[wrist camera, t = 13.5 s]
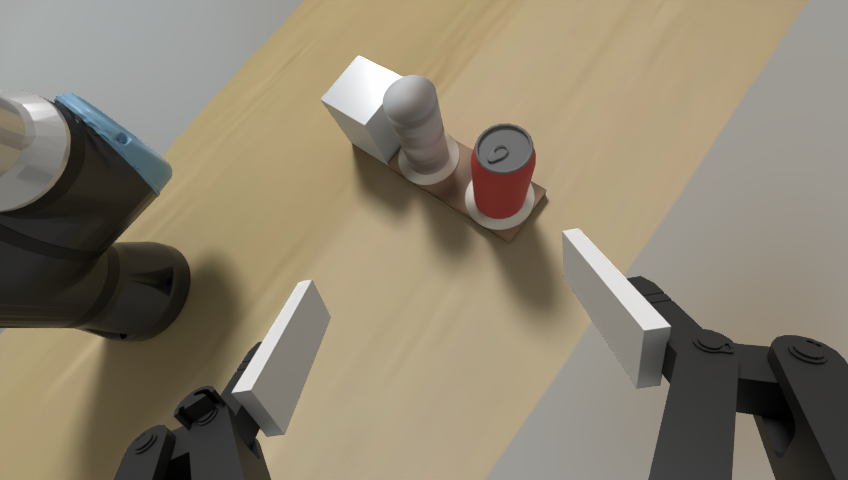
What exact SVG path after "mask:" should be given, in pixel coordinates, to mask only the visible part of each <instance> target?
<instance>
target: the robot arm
mask: <svg viewBox="0 0 848 480" xmlns="http://www.w3.org/2000/svg"><path fill="white" fill-rule="evenodd" d="M54 101H55V103H53V102H51V101H49V100H47V99H45V98H42V97H40V96H38V95H35V94H33V93H31V92H27V91H22V90H12V89H10V90H0V328H75V329H79V330H82V331H85V332H88V333H92V334H95V335H98V336H101V337H104V338H108V339H111V340H115V341H141V340H146V339H149V338H151V337H153V336H155V335H157V334H159V333H160V332H162V331H163V330H164V329H165V328H167V327H168V326H169V325H170V324H171V322H172V321H173V320H174V319H175V318H176V316H177V315H178V313H179V312H180V310H181V308H182V306H183V304H184V302H185V300H186V297H187V293H188V289H189V282H190V274H189V268H188V264H187V262H186V259H185V258H184V256H183V255H182V254H181V253H180V252H179V251H178V250H177V249H175V248H173V247H171V246H167V245H164V244H160V243H156V242H119V243H114V242H115V241H116V240H117V239H118V237H119V236H120V235H121V234H122V233H123V232H124V231H125V230H126V229H127V228H128V227H129V226H130V225H131V224H132V223H133V222H134V221H135V220H136V219H137V217H138V216H139V215H140V214H141V213H142V212H143V211H144V210H145V209H146V208H147V207H148V206H149V205H150V204H151V203H152V202H153V201H154V200H155V198H156V197H158V196H159V195H160V191H161V190H162V189H163V188H164V186H165V185H166V184H167V182H168V181H169V180H170V179H171V177H172V169H171V166H170V165H169V163H168V162H167V161H166V160H165V159H164V158H162V157H161V156H160V155H159V154H157V153H156V152H155V151H154V150H153V149H151V148H150V147H149V146H147V145H146V144H145V143H144V142H142V141H141V140H140V139H138V138H137V137H136V136H134V135H133V134H132V133H130V132H129V131H127V130H126V129H125V128H124V127H122V126H121V125H119V124H118V123H117V122H115V121H114V120H113V119H111V118H110V117H108V116H107V115H106V114H104V113H103V112H101V111H100V110H99V109H97V108H96V107H94V106H93V105H91V104H90V103H88V102H87V101H85V100H84V99H82V98H80V97H79V96H76V95H74V94H72V93H65V94H63V95H62V96H57V97H56V98H55V99H54ZM562 243H563V277H564V278H565V280H566V281H567V283H568V284H569V286H570V287H571V289H572V290H573V292H574V293H575V295H576V297H577V298H578V300H579V301H580V303H581V304H582V306H583V307H584V309H585V310H586V312H587V313H588V315H589V316H590V318H591V320H592V321H593V323H594V324H595V326H596V327H597V329H598V330H599V332H600V333H601V335H602V336H603V338H604V340H605V341H606V343H607V344H608V346H609V347H610V349H611V350H612V352H613V353H614V355H615V356H616V358H617V359H618V361H619V363H620V364H621V366H622V367H623V368H624V370H625V371H626V373H627V375H628V376H629V378H630V379H631V381H632V383H633V384H634V386H635V387H636V388H644V387H652V386H660V384H661V378H662V374H663V375H664V377H665V378H666V379H667V381H668V382H669V383H670V388H669V392H668V396H667V401H666V405H665V409H664V414H663V418H662V422H661V427H660V431H659V436H658V440H657V444H656V449H655V453H654V457H653V462H652V466H651V471H650V475H649V479H648V480H732V466H733V450H734V432H735V416H736V412H739V413H746V414H753V416H754V419H755V422H756V425H757V427H758V431H759V433H760V436H761V439H762V442H763V445H764V448H765V450H766V453H767V456H768V459H769V462H770V465H771V468H772V470H773V473H774V476H775V479H776V480H848V364H847V362H846V361H845V359H844V358H843V357H842V356H841V355H840V354H839V353H838V352H837V351H835V350H834V349H832V348H830V347H829V346H827V345H825V344H823V343H821V342H818V341H815V340H813V339H810V338H806V337H801V336H795V335H784V336H780V337H777V338H776V339H775V340H774V341H773V342H772V344H771V346H770V347H766V346H755V345H744V344H737V343H733V341H732V340H730V339H729V338H727V337H726V336H724V335H722V334H720V333H717V332H714V331H711V330H706V329H702V328H701V327H700V326H699V325H698V324H697V323H696V322H695V321H694V320H693V319H692V318H691V317H689V316H688V315H687V314H686V313H685V312H684V311H683V310H682V309H681V308H680V307H679V306H678V305H677V304H676V303H675V302H674V301H672V300H671V298H669V297H668V296H667V295H666V294H664V292H663V291H662V290H661V289H660V288H659V287H658V286H657V285H656V284H655V283H653V282H651V281H649V280H647V279H645V278H643V277H641V276H638V277H633V278H627V279H626V278H625V277H624V276H623V275H622V274H621V273H620V272H619V271H618V270H617V268H616V267H615V266H614V265H613V264H612V263H611V262H610V261H609V260H608V259H607V258H606V257H605V256H604V255H603V254H602V253H601V252H600V250H599V249H598V248H597V247H596V246H595V245H594V244H593V243H592V242H591V241H590V240H589V239H588V238H587V237H586V236H585V235H584V234H583V232H582V231H581V230H580V229H579V228H576V229H571V230H566V231H562ZM330 318H331V317H330V315H329V313H328V311H327V308H326V306H325V304H324V302H323V300H322V298H321V296H320V294H319V292H318V290H317V288H316V286H315V284H314V282H313V280H306V281H301V282H299V283H298V284H297V286H296V288H295V289H294V291H293V293H292V294H291V296H290V298H289V299H288V301H287V302H286V304H285V306H284V307H283V309H282V311H281V312H280V314H279V316H278V317H277V319H276V320H275V322H274V324H273V325H272V327H271V329H270V330H269V332H268V334H267V335H266V337H265V339H264V340H263V341H262V342H258V343H257V344H256V345H255V346H254V347H253V348H252V349H251V350H250V351H249V352H248V353H247V355H246V357H245V358H244V360H243V361H242V364H240V366H239V368H238V369H237V372H235V374H234V375H233V377H232V378H231V380H230V382H229V383H228V385H227V386H226V388H225V389H224V391H223V393H222V394H221V396H220V395H219V394H218V393H217V392H216V390H215V389H214V388H213V387H211V386H205V387H201V388H199V389H197V390H195V391H193V392H192V393H191V394H189V395H188V396H187V397H186V398H185V399H184V400H183V401H182V402H181V403H180V404H179V405H178V407H177V408H176V410H175V413H174V417H175V418H176V419H177V420H178V421H179V422H180V423H181V424H182V425H183V427H180V428H178V429H176V430H173V431H170V430H169V429H168V428H167V427H166V426H165V425H158V426H155V427H152V428H150V429H149V430H147V431H145V432H144V433H142V434H141V435H140V436H139V437H138V438H136V439H135V441H134V442H133V443H132V444H131V445H130V446H129V448H128V449H127V451H126V453H125V454H124V457H123V459H122V462H121V464H120V466H119V469H118V471H117V474H116V476H115V479H114V480H271V478H270V475H269V472H268V469H267V465H266V462H265V459H264V456H263V453H262V449H261V446H260V443H259V442H258V440H257V439H256V435H257V433H258V431H259V429H261V430H262V431H263V433H264V434H265V435H266V436H267V437H269V436H277V435H285V433H286V430H287V427H288V425H289V422H290V420H291V417H292V415H293V412H294V410H295V407H296V405H297V402H298V400H299V397H300V394H301V392H302V389H303V387H304V384H305V382H306V379H307V377H308V374H309V372H310V369H311V367H312V364H313V361H314V359H315V356H316V354H317V351H318V349H319V346H320V344H321V341H322V339H323V336H324V334H325V331H326V328H327V326H328V323H329V321H330Z"/></svg>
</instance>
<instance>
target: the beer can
mask: <svg viewBox="0 0 848 480" xmlns="http://www.w3.org/2000/svg"><path fill="white" fill-rule="evenodd" d="M535 163H536V154H535V150H534V147H533V141H532V139H531V136H530V135H529V134H528V133H527V132H526V130H524V129H523V128H521V127H519V126H517V125H513V124H498V125H495V126H491V127H490V128H488V129H487V130H485V131H484V132H483V133H482V134H481V135H480V136H479V137H478V140H477V142H476V144H475V147H474V150H473V152H472V155H471V173H472V183H473V194H474V200H475V204H476V206H477V208H478V209H479V211H480V212H481V213H483V214H484V215H485V216H487V217H490V218H493V219H505V218H509V217H511V216H513V215H515V214H516V213H518V211H519V210H520V209H521V208H522V207H523V204H524V202H525V199H526V195H527V192H528V188H529V185H530V181H531V178H532V174H533V171H534V168H535Z"/></svg>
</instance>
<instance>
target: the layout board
mask: <svg viewBox="0 0 848 480" xmlns="http://www.w3.org/2000/svg"><path fill="white" fill-rule="evenodd" d="M383 108H384V111H385V113H386V115H387V117H388V119H389V122H390V124H391V126H392V128H393V130H394V132H395V135H396V137H397V139H398V141H399V143H400V145H401V149H400V150H399V151H398V153H397V154H396V155H395V156H394V158H393V159H392V160H391V161H390V163H389V164H388V166H389V167H390V169H392V170H393V171H395V172H396V173H398V174H400V175H401V176H403V177H404V178H406V179H408V180H409V181H411V182H412V183H414V184H416V185H417V186H419V187H420V188H422V189H424V190H425V191H427V192H428V193H430V194H432V195H433V196H435V197H436V198H438V199H440V200H441V201H443V202H444V203H446V204H448V205H449V206H451V207H452V208H454V209H456V210H457V211H459V212H460V213H462V214H464V215H465V216H467V217H468V218H470V219H472V220H473V221H475V222H476V223H478V224H479V225H481V226H483V227H484V228H486V229H487V230H489V231H491V232H492V233H494V234H495V235H497V236H499V237H500V238H502V239H503V240H505V241H507V242H508V243H511V241H512V240H513V238H514V237H515V236H516V234H517V233H518V231H519V230H520V228H521V227H522V226H523V224H524V223H525V221H526V220H527V219H528V217H529V216H530V214H531V213H532V212H533V210H534V209H535V207H536V206H537V204H538V203H539V202H540V200H541V199H542V197H543V196H544V195H545V193H546V189H544V188H542V187H541V186H539V185H537V184H535V183H533V182H531V181H530V185H529V188H528V192H527V195H526V199H525V202H524V204H523V207H522V208H521V209H520V210H519V211H518V213H516V214H515V215H513V216H511V217H509V218H505V219H493V218H490V217H487V216H485V215H484V214H483V213H481V212H480V211H479V209H478V208H477V206H476V204H475V200H474V194H473V183H472V173H471V155H472V152H473V150H472V149H470V148H468V147H467V146H465V145H463V144H461V143H459V142H457V141H455V140H454V138H453V137H452V136H451V135H449V134H448V133H446V132H444V127H443V123H442V118H441V113H440V108H439V104H438V99H437V94H436V90H435V87H434V85H433V83H432V82H431V81H430V80H428V79H427V78H425V77H423V76H418V75H410V76H405V77H402V78H400V79H398V80H396V81H395V82H393V83H392V84H391V85H390V86H389V87H388V88H387V90H386V92H385V94H384V96H383Z"/></svg>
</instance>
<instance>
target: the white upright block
mask: <svg viewBox="0 0 848 480" xmlns="http://www.w3.org/2000/svg"><path fill="white" fill-rule="evenodd" d="M400 78H402V76H400V75H398V74H396V73H394V72H392V71H390V70H388V69H386V68H384V67H382V66H380V65H378V64H376V63H374V62H371V61H369V60H367V59H365V58H363V57H361V56H359V55H358V56H357V57H356V59H355V60H354V61H353V62H352V63H351V64H350V66H349V67H348V68H347V69H346V70H345V71H344V73H343V74H342V75H341V76H340V77H339V78H338V80H337V81H336V82H335V83H334V84H333V85H332V87H331V88H330V89H329V90H328V91H327V93H326V94H325V95H324V96H323V97H322V98H321V101H322V102H323V104H324V105H325V106H326V108H327V109H328V111H329V112H330V113H331V115H332V116H333V118H334V119H335V120H336V122H337V123H338V125H339V126H340V127H341V129H342V130H343V132H344V133H345V134H346V136H347V137H348V139H349V140H350V141H351V143H352V144H354V145H356V146H357V147H359V148H360V149H362V150H364V151H365V152H367V153H368V154H370V155H372V156H373V157H375V158H376V159H378V160H380V161H381V162H383V163H384V164H386V165H388V164H389V163H390V161H391V160H392V159H393V158H394V156H395V155H396V154H397V153H398V151H399V150H400V149H401V145H400V143H399V141H398V139H397V137H396V135H395V132H394V130H393V128H392V126H391V124H390V122H389V119H388V117H387V115H386V113H385V111H384V108H383V96H384V94H385V92H386V90H387V88H388V87H389V86H390V85H391V84H392V83H393V82H395V81H396V80H398V79H400Z"/></svg>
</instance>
